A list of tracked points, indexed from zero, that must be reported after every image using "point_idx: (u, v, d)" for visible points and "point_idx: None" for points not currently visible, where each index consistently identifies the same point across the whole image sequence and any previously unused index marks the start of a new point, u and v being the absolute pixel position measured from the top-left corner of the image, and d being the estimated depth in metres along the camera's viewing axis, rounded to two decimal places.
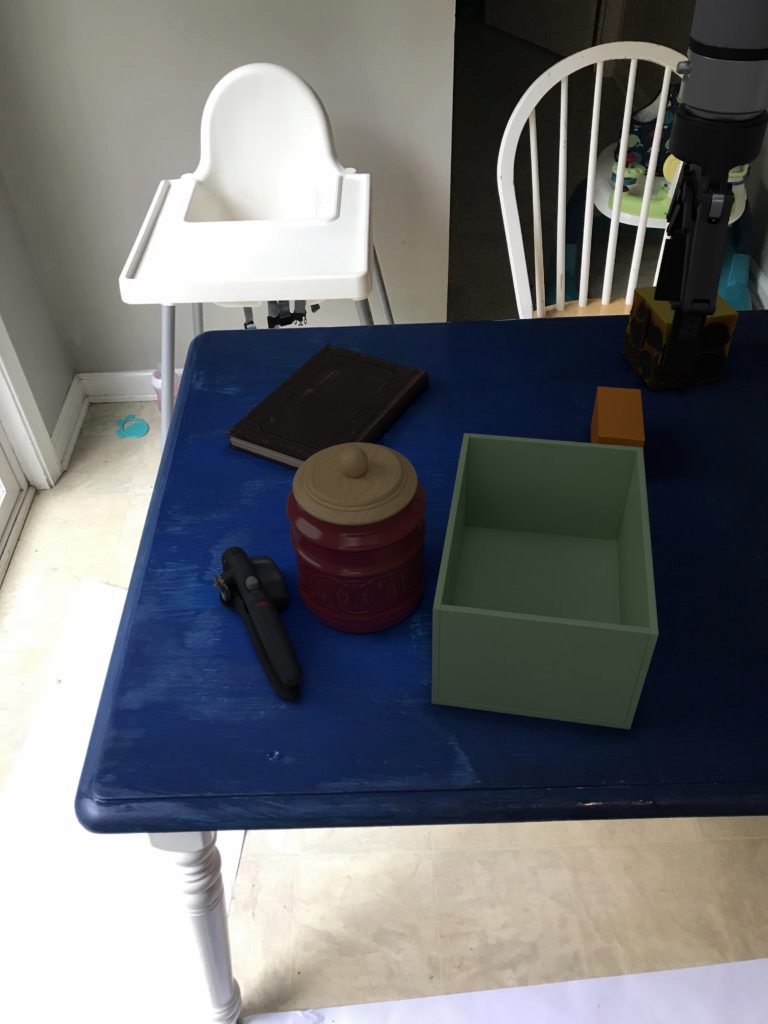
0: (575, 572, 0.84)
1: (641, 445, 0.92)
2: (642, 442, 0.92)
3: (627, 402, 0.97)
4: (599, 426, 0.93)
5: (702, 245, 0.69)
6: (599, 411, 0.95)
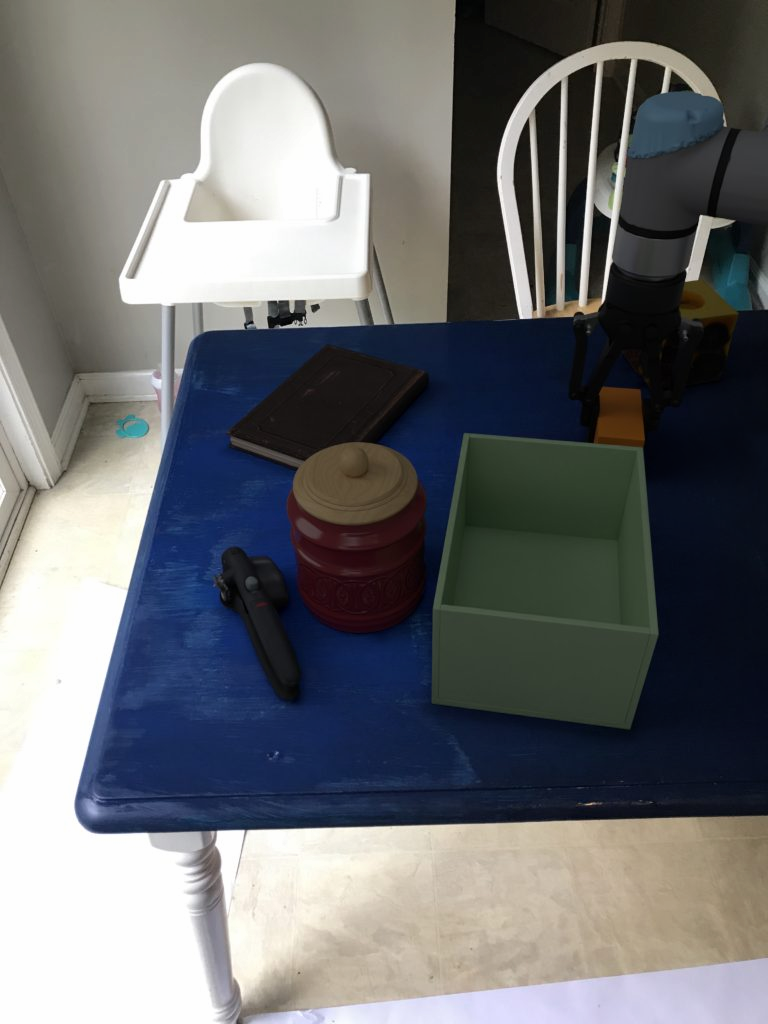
0: (575, 572, 0.84)
1: (641, 445, 0.92)
2: (642, 442, 0.92)
3: (627, 402, 0.97)
4: (599, 426, 0.93)
5: (574, 348, 0.92)
6: None
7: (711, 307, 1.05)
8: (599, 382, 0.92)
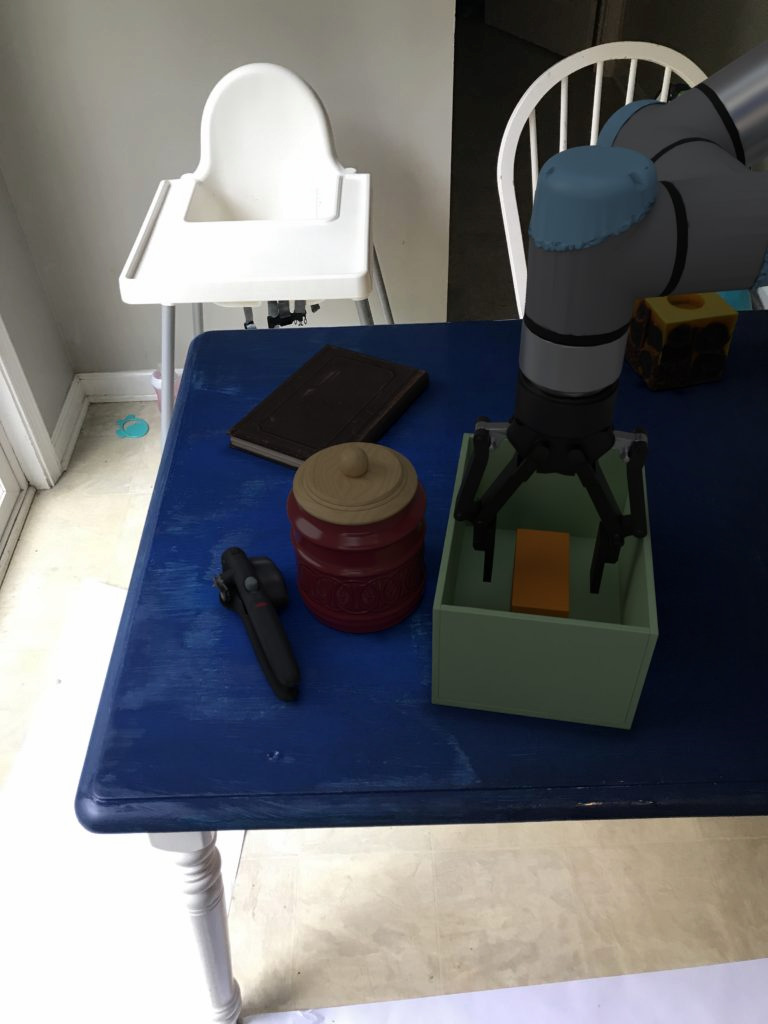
0: (575, 572, 0.84)
1: (565, 616, 0.73)
2: (566, 613, 0.73)
3: (551, 552, 0.78)
4: (514, 589, 0.74)
5: (470, 458, 0.70)
6: (516, 566, 0.77)
7: (711, 307, 1.05)
8: (497, 504, 0.71)
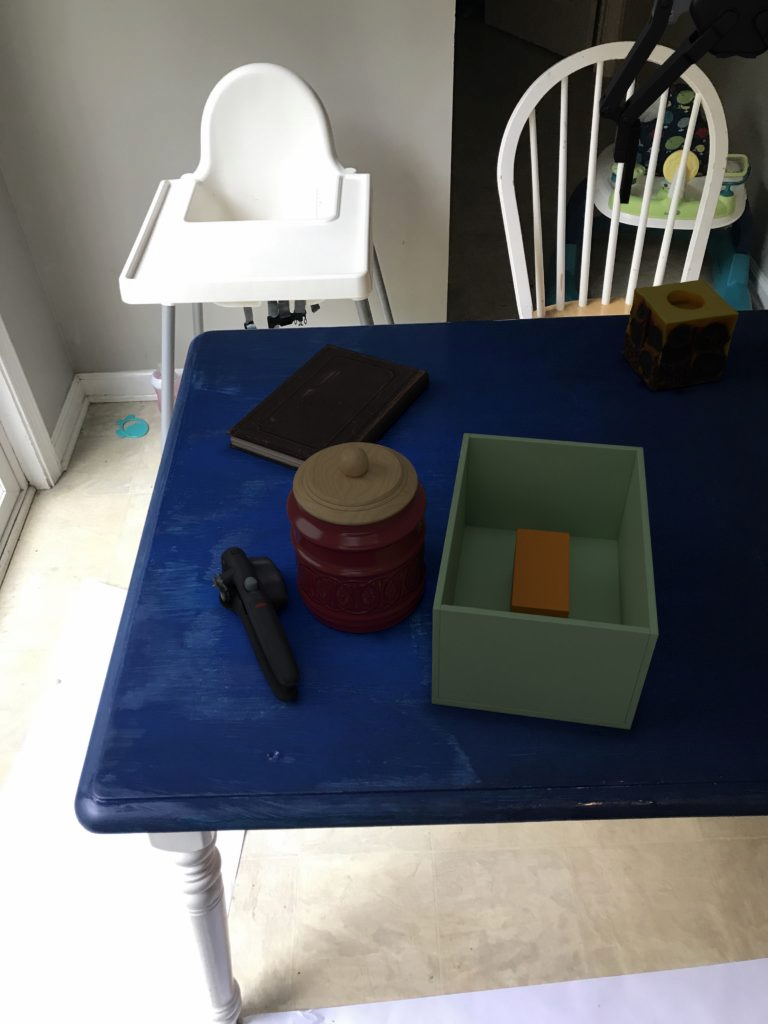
0: (575, 572, 0.84)
1: (565, 616, 0.73)
2: (566, 613, 0.73)
3: (551, 552, 0.78)
4: (514, 589, 0.74)
5: (636, 43, 0.68)
6: (516, 566, 0.77)
7: (711, 307, 1.05)
8: (653, 95, 0.69)
